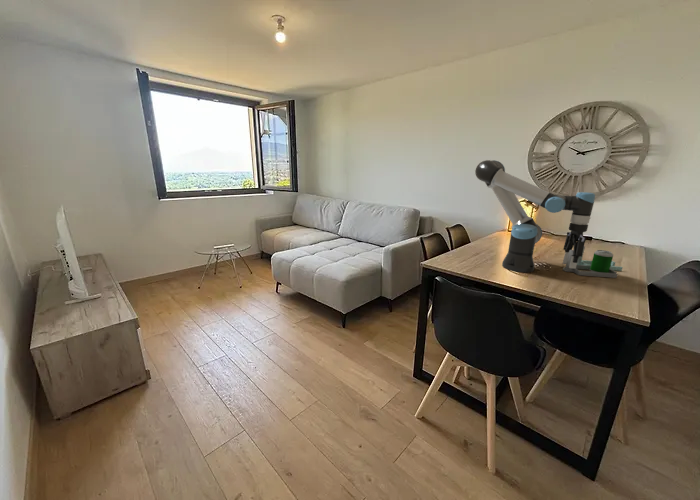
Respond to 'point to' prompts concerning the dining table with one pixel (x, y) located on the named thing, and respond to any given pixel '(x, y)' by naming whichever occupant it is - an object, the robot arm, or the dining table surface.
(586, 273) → the frame
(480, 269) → the dining table surface
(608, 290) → the dining table surface
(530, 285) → the dining table surface
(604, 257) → the soda can
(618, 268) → the lane
